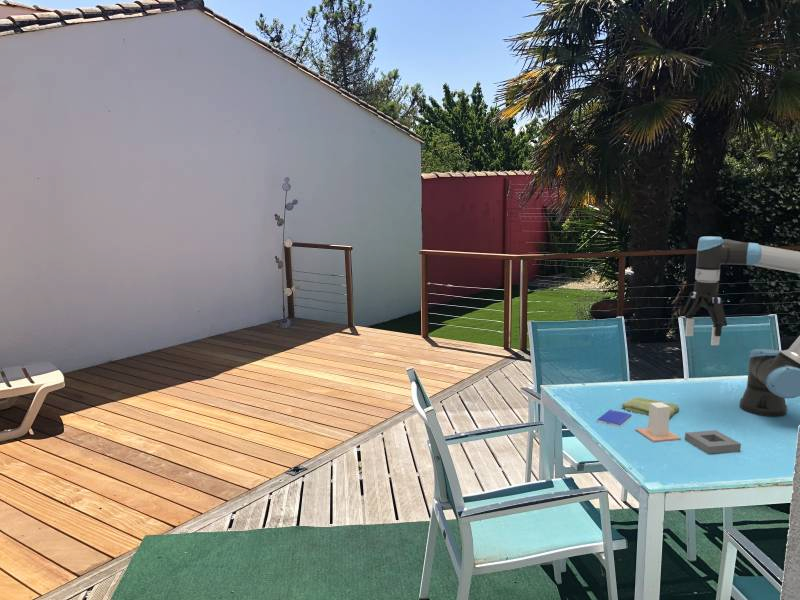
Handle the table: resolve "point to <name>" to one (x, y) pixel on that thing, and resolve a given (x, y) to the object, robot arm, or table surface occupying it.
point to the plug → (658, 419)
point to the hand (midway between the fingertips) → (701, 340)
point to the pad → (657, 438)
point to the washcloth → (646, 406)
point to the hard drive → (614, 418)
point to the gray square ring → (712, 442)
